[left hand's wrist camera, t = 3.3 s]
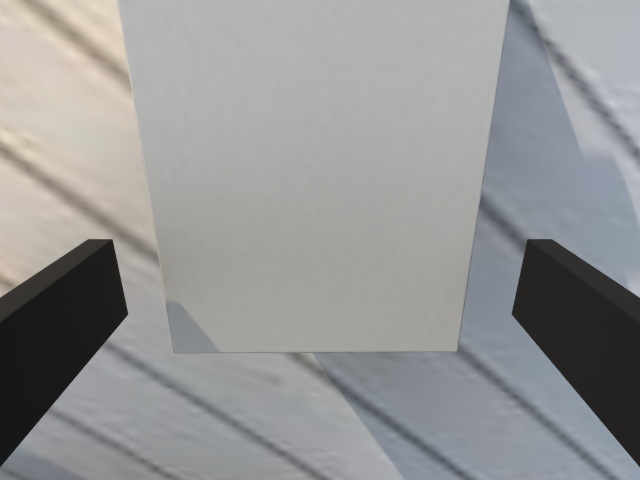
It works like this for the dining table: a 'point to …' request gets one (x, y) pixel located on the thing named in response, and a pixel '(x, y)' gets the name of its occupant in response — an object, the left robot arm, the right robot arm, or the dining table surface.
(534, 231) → the dining table surface
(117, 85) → the dining table surface
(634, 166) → the dining table surface
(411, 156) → the grey rectangular block
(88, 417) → the dining table surface
